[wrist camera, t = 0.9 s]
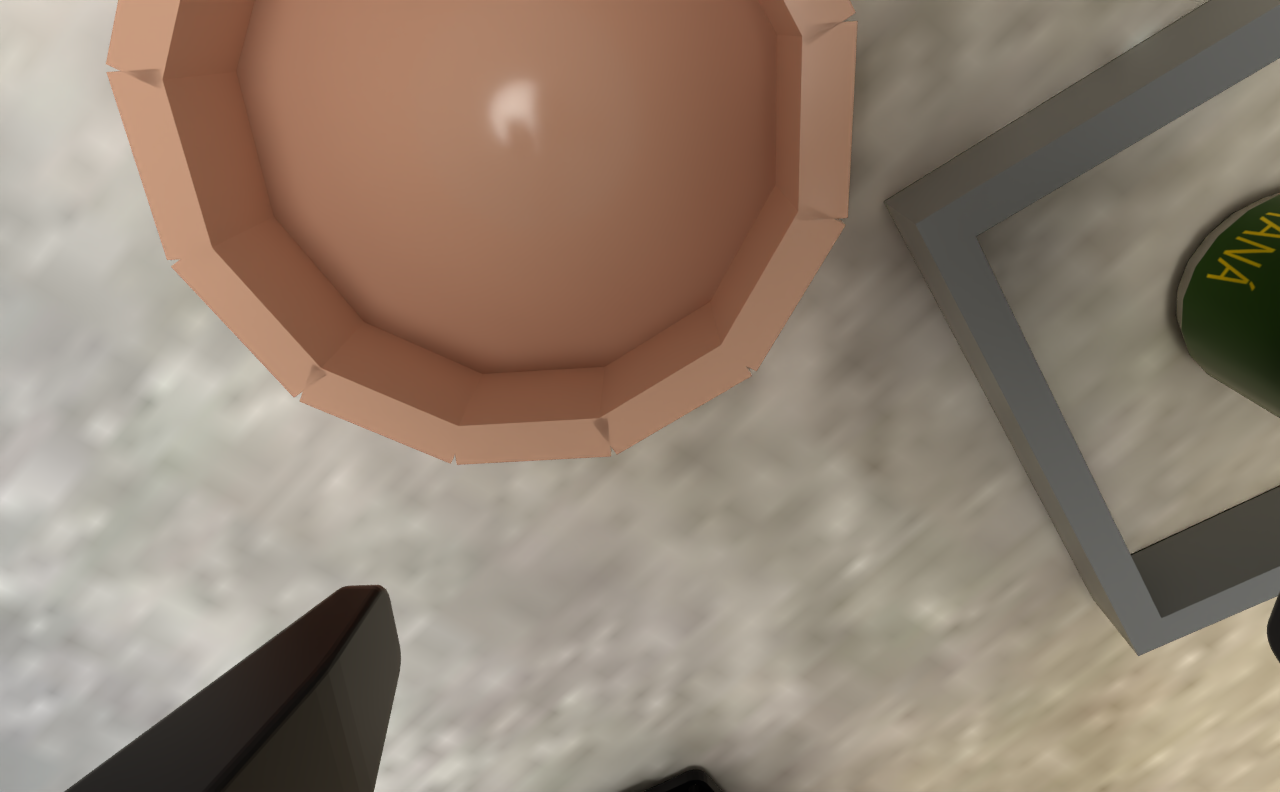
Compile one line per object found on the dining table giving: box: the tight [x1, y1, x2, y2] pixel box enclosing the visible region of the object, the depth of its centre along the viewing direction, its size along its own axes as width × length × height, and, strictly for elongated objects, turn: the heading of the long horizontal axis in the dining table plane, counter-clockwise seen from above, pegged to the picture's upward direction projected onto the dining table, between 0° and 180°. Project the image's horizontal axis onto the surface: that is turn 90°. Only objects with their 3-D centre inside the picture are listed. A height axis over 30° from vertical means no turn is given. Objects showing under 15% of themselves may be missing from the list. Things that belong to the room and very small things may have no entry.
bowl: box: [106, 0, 858, 465], centre depth 17 cm, size 14×14×4 cm
